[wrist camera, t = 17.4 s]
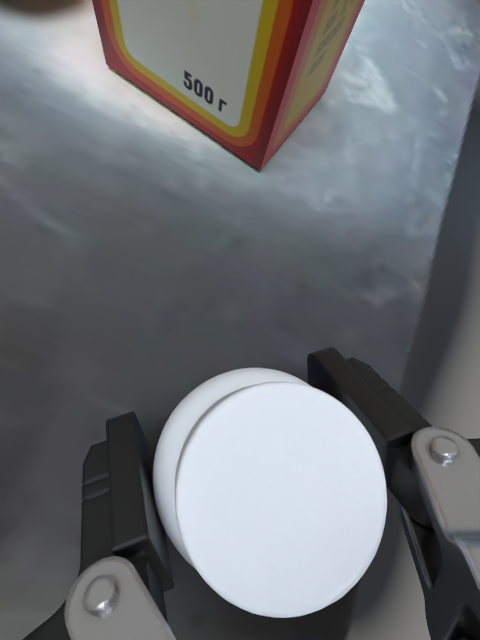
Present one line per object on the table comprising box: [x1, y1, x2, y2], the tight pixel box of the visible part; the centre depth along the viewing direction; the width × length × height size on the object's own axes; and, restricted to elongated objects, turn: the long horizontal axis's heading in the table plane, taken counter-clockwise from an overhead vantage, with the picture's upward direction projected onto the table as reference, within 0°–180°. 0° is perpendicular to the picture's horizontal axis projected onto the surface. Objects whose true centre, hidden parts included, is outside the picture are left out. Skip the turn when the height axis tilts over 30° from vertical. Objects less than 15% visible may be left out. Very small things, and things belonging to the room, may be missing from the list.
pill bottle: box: [153, 368, 387, 618], centre depth 11 cm, size 5×5×9 cm
